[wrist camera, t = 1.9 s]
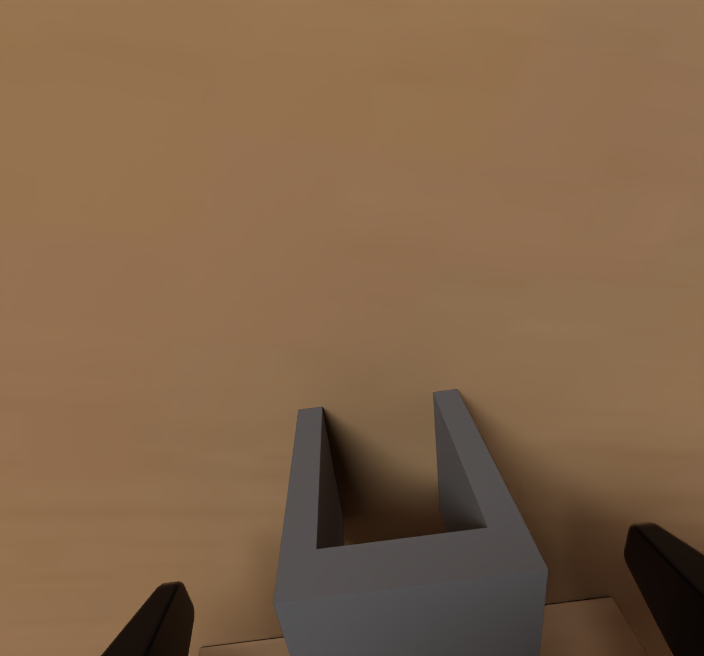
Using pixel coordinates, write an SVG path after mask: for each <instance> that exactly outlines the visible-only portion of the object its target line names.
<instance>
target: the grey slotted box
mask: <svg viewBox="0 0 704 656" xmlns="http://www.w3.org/2000/svg"><path fill="white" fill-rule="evenodd" d="M433 397H434V415H435V433H436V451H437V469H438V487H439V505H440V511H441V515H442V518H443V522H444V525H445V529H446V532H447V533H441V534H433V535H425V536H417V537H409V538H401V539H393V540H385V541H378V542H370V543H362V544H354V545H346V546H344V520H343V515H342V510H341V504H340V499H339V494H338V488H337V483H336V478H335V472H334V467H333V462H332V456H331V451H330V446H329V440H328V435H327V430H326V425H325V419H324V414H323V409H322V407H317V408H309V409H301V410H298V417H297V425H296V433H295V440H294V448H293V456H292V463H291V471H290V479H289V486H288V494H287V502H286V510H285V517H284V525H283V533H282V540H281V548H280V556H279V563H278V571H277V579H276V586H275V594H274V602H273V604H274V608H275V611H276V614H277V617H278V620H279V623H280V626H281V629H282V632H283V636H284V639H285V642H286V645H287V648H288V651H289V654H290V656H540V648H541V638H542V628H543V618H544V608H545V598H546V588H547V578H548V568H547V566H546V564H545V562H544V560H543V558H542V556H541V554H540V552H539V550H538V548H537V546H536V544H535V542H534V540H533V538H532V536H531V534H530V532H529V530H528V528H527V526H526V524H525V522H524V520H523V518H522V516H521V514H520V512H519V510H518V508H517V506H516V504H515V502H514V500H513V498H512V496H511V495H510V493H509V491H508V489H507V487H506V485H505V483H504V481H503V479H502V477H501V475H500V473H499V471H498V469H497V467H496V465H495V463H494V461H493V459H492V457H491V455H490V453H489V451H488V449H487V447H486V445H485V443H484V441H483V439H482V437H481V435H480V433H479V431H478V429H477V427H476V425H475V423H474V421H473V419H472V417H471V415H470V413H469V412H468V410H467V408H466V406H465V404H464V402H463V400H462V398H461V396H460V394H459V392H458V390H457V389H454V390H446V391H439V392H433Z"/></svg>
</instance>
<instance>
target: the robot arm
mask: <svg viewBox="0 0 704 656" xmlns="http://www.w3.org/2000/svg"><path fill="white" fill-rule="evenodd" d="M624 557H625V561H626V564H627V566H628V568H629V570H630V572H631V574H632V576H633V578H634V580H635V582H636V584H637V586H638V588H639V590H640V591H641V593H642V595H643V597H644V599H645V601H646V603H647V605H648V607H649V609H650V611H651V613H652V615H653V617H654V619H655V621H656V623H657V625H658V627H659V629H660V631H661V633H662V635H663V637H664V639H665V641H666V642H667V644H668V646H669V648H670V650H671V652H672V653H673V655H674V656H704V555H703V554H702V553H700V552H699V551H697V550H696V549H694V548H693V547H691V546H689V545H688V544H686V543H685V542H683V541H682V540H680V539H679V538H677V537H675V536H674V535H672V534H671V533H669V532H668V531H666V530H665V529H663V528H661V527H660V526H658V525H656V524H654V523H650V522H647V523H639V524H633V525H631V526H630V527H629V530H628V535H627V539H626V544H625V549H624ZM193 623H194V606H193V604H192V601H191V599H190V597H189V595H188V592H187V590H186V588H185V586H184V584H183V583H182V582H180V581H178V582H170V583H164V584H161V585H160V586H159V587H157V589H156V590H155V591H154V592H153V593H152V595H151V596H150V597H149V598H148V599H147V601H146V602H145V603H144V604H143V605H142V607H141V608H140V609H139V610H138V611H137V613H136V614H135V615H134V616H133V618H132V619H131V620H130V621H129V622H128V624H127V625H126V626H125V627H124V628H123V630H122V631H121V632H120V633H119V634H118V636H117V637H116V638H115V639H114V641H113V642H112V643H111V644H110V645H109V647H108V648H107V649H106V650H105V651H104V653H103V654H102V655H101V656H188V654H189V647H190V641H191V635H192V629H193Z"/></svg>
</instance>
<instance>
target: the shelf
mask: <svg viewBox="0 0 704 656" xmlns="http://www.w3.org/2000/svg"><path fill="white" fill-rule="evenodd" d="M198 656H290V654H289V651H288V648H287V645H286V642H285V639H284V638H276V639H268V640H260V641H252V642H244V643H236V644H228V645H220V646H212V647H204V648H200V651H199V654H198ZM540 656H648V655H647V653H646V651H645V650H644V648H643V647H642V645H641V643H640V642H639V640H638V638H637V637H636V635H635V634H634V632H633V630H632V629H631V627H630V625H629V624H628V622H627V621H626V619H625V617H624V616H623V614H622V612H621V611H620V609H619V608H618V606H617V604H616V603H615V601H614V599H613V598H612V597H608V598H600V599H592V600H584V601H576V602H568V603H559V604H551V605H545V608H544V618H543V628H542V638H541V648H540Z"/></svg>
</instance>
